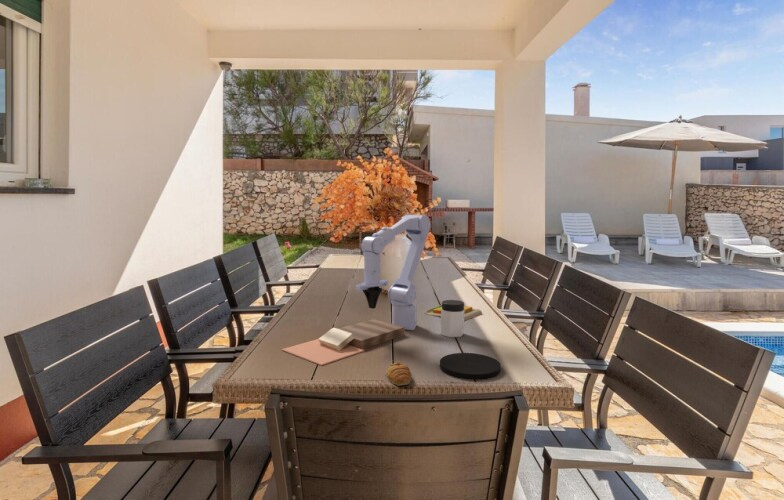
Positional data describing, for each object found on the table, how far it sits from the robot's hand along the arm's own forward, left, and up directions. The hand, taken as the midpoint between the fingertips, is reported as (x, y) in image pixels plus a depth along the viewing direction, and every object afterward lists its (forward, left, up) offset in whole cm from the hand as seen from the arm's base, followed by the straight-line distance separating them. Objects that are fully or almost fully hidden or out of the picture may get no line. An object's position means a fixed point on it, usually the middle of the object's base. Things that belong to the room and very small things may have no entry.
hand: (372, 307), depth 170 cm
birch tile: (+9, +14, -9) cm, 19 cm away
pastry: (-17, +37, -11) cm, 42 cm away
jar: (-28, -9, -11) cm, 31 cm away
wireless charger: (-36, +24, -11) cm, 45 cm away
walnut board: (+1, +2, -10) cm, 11 cm away
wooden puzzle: (-26, -39, -11) cm, 48 cm away
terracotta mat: (+11, +20, -10) cm, 25 cm away
